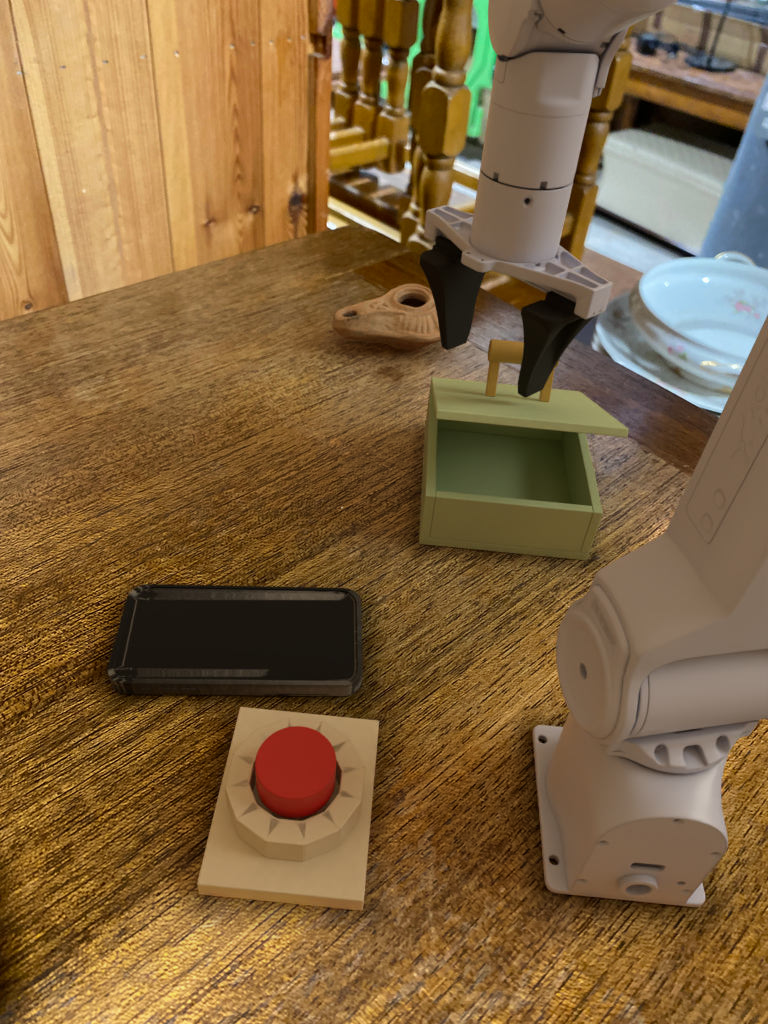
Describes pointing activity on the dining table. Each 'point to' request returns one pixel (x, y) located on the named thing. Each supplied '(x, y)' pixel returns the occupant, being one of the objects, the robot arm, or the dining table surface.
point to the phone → (238, 641)
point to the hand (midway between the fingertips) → (490, 367)
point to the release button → (295, 771)
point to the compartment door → (519, 401)
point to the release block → (293, 821)
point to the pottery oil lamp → (392, 319)
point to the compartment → (507, 489)
